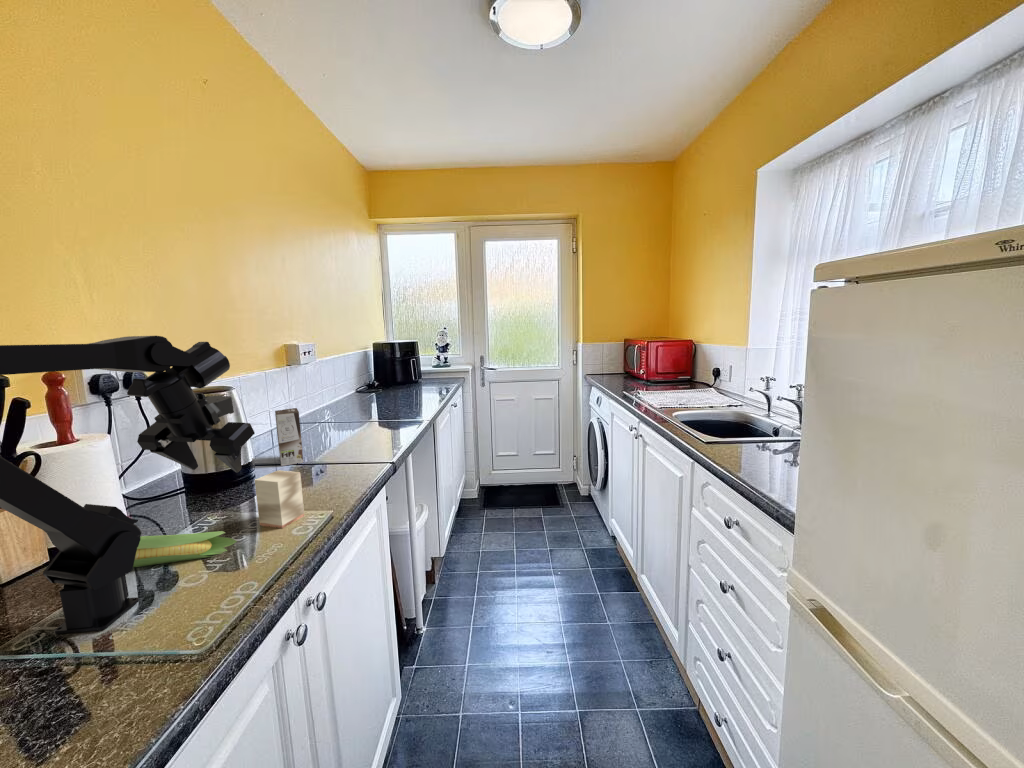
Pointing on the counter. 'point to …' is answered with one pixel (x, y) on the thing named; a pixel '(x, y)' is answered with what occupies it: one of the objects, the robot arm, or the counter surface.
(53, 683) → the counter surface
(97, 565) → the robot arm
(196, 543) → the edible corn
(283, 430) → the coffee box
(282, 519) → the marked block
